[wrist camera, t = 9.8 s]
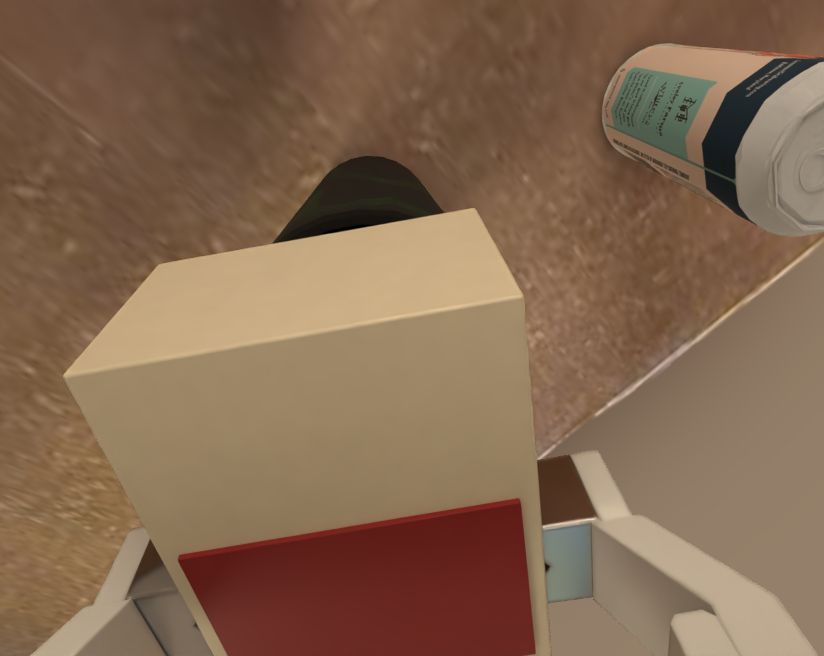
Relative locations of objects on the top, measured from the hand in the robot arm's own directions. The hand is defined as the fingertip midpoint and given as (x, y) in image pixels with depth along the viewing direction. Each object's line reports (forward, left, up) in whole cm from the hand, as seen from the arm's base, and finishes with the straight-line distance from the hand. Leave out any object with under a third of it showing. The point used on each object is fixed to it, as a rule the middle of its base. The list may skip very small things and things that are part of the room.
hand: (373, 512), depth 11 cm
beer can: (+9, -10, -19) cm, 23 cm away
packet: (0, 0, -2) cm, 2 cm away
